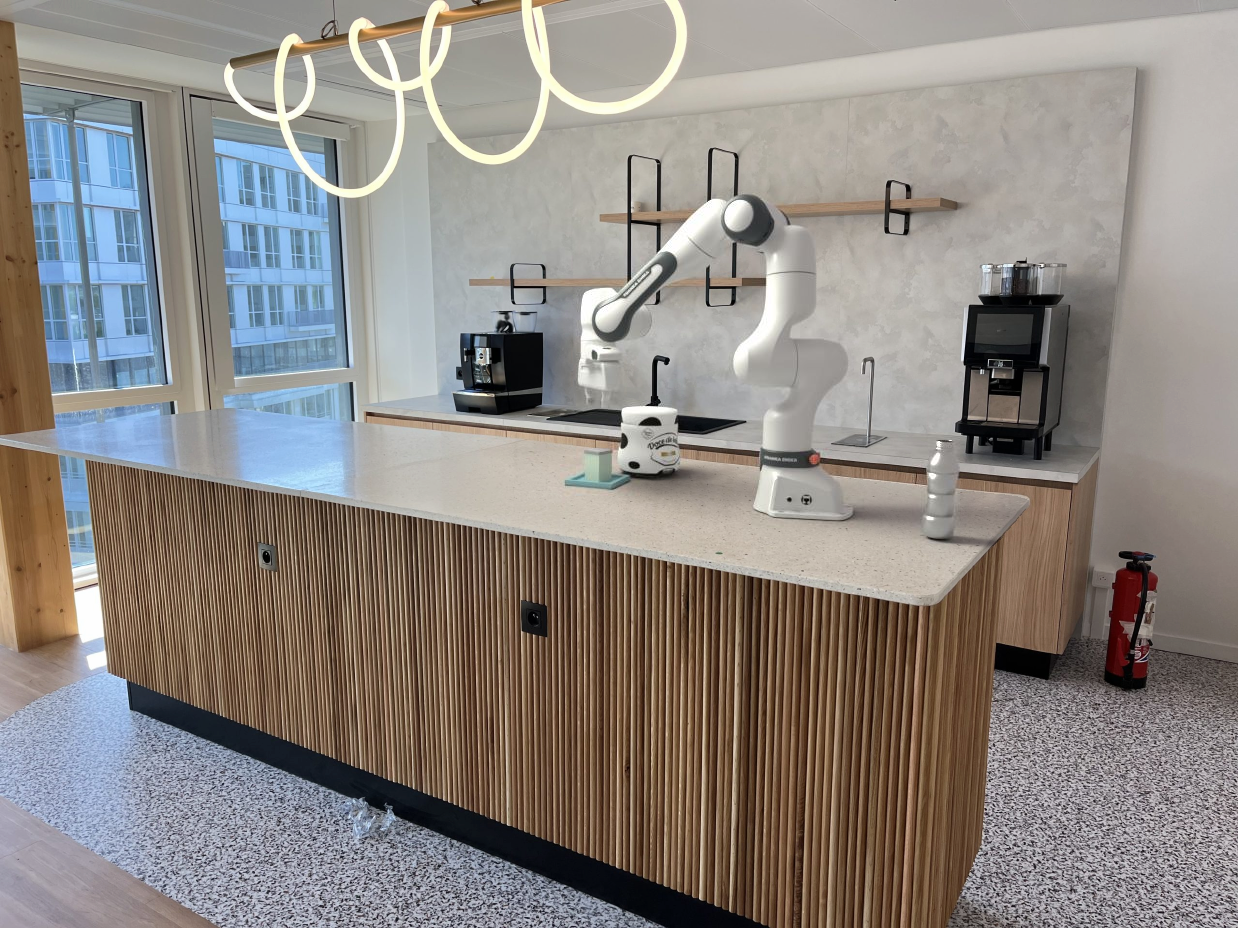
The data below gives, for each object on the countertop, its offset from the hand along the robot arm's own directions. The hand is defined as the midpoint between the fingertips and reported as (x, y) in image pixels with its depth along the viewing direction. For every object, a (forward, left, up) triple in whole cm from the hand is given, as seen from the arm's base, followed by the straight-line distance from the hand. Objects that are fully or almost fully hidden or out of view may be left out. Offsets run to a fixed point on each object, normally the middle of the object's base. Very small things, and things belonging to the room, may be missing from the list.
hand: (597, 406), depth 229 cm
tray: (0, -1, -20) cm, 20 cm away
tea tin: (0, -1, -20) cm, 20 cm away
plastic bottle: (-85, +22, -20) cm, 90 cm away
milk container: (-8, -18, -20) cm, 28 cm away
